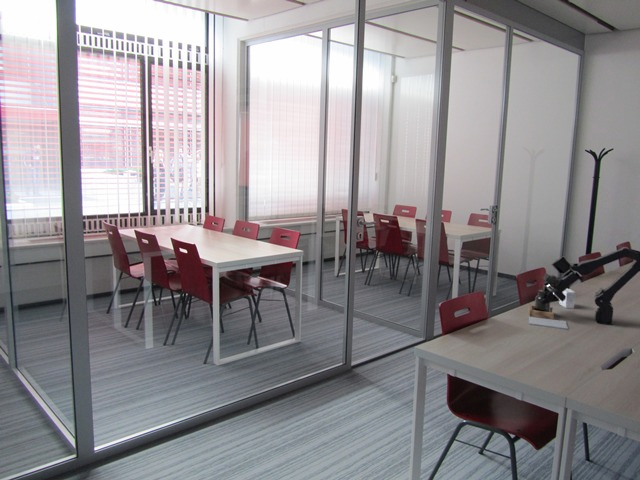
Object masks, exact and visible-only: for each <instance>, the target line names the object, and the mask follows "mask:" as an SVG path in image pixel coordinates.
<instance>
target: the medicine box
mask: <svg viewBox="0 0 640 480" xmlns="http://www.w3.org/2000/svg"><path fill="white" fill-rule="evenodd" d="M562 293H563V294H564V295H565V296H566V299H565V300H564V301H561V300H560V299H559V300H560V301H558V304H559V305H561V307H563V308H565V309H574V308H575V300H576V291H574V290H572V289H568V288H567V289H566V290H564V291H563V292H562Z"/></svg>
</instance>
